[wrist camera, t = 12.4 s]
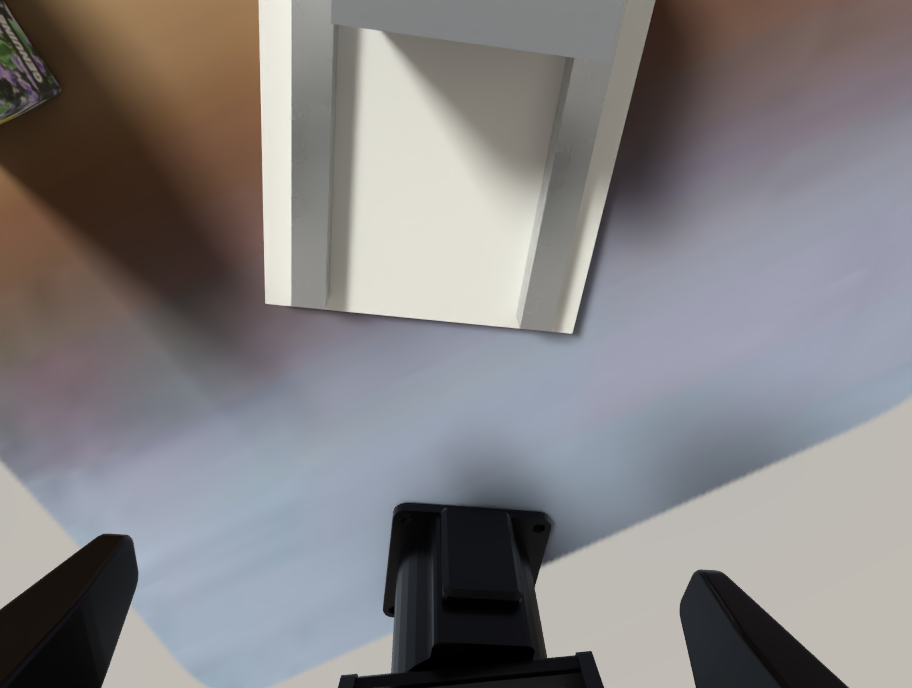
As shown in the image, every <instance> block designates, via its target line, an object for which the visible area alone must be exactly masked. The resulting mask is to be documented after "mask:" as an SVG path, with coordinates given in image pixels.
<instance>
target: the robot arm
mask: <svg viewBox="0 0 912 688" xmlns="http://www.w3.org/2000/svg"><path fill="white" fill-rule="evenodd" d="M402 515H409V516H408V517H403V516H402ZM536 524H541V525H538V526H535V525H536ZM550 530H551V524H550V520H549V517H548V516H547V515H546V514H544V513H540V512H528V511H513V510H499V509H484V508H470V507H455V506H441V505H426V504H412V503H402V504H400V505H397V506H396V507H395V508H394V511H393V519H392V529H391V538H390V547H389V556H388V566H387V575H386V584H385V594H384V603H383V612H384V613H385V615H387V616H389V617H394V632H393V651H392V669H391V673H390V674H380V675H370V676H360V677H358V675H357V674H352V675H342V676H341V678H340V682H339V686H338V688H604V686H603V683H602V681H601V678H600V675H599V672H598V669H597V666H596V663H595V660H594V657H593V654H592V652H591V651H587V652H577V653H576V655H575V656H565V657H555V658H547V654H546V649H545V643H544V638H543V632H542V627H541V621H540V616H539V610H538V605H537V599H536V594H535V584H536V580H537V577H538V573H539V570H540V566H541V562H542V559H543V555H544V552H545V548H546V544H547V541H548V537H549V534H550ZM137 582H138V567H137V561H136V555H135V549H134V543H133V540H132V538H131V537H130V536H128V535H121V534H102V535H100V536H98V537H96V538H95V539H94V540H92V541H91V542H90V543H88V544H87V545H86V546H84V547H83V548H82V549H80V550H79V551H78V552H76V553H75V554H74V555H72V556H71V557H70V558H68V559H67V560H66V561H64V562H63V563H62V564H60V565H59V566H58V567H56V568H55V569H54V570H52V571H51V572H50V573H48V574H47V575H46V576H44V577H43V578H42V579H40V580H39V581H38V582H36V583H35V584H34V585H32V586H31V587H30V588H28V589H27V590H26V591H24V592H23V593H22V594H20V595H19V596H18V597H16V598H15V599H14V600H12V601H11V602H10V603H8V604H7V605H6V606H4V607H3V608H2V609H1V610H0V688H101V687H102V684H103V681H104V678H105V676H106V673H107V670H108V668H109V665H110V662H111V659H112V656H113V653H114V650H115V647H116V645H117V641H118V639H119V636H120V633H121V630H122V627H123V624H124V621H125V619H126V615H127V613H128V610H129V607H130V604H131V601H132V598H133V595H134V593H135V590H136V586H137ZM680 618H681V623H682V627H683V631H684V635H685V640H686V645H687V649H688V654H689V658H690V662H691V667H692V671H693V676H694V681H695V685H696V688H849V687H847V686H846V685H845V684H844V683H843V682H842V681H841V680H840V679H839V678H838V677H837V676H836V675H834V674H833V673H832V672H831V671H830V670H829V669H828V668H827V667H826V666H825V665H823V664H822V663H821V662H820V661H819V660H818V659H817V658H816V657H815V656H814V655H812V654H811V653H810V652H809V651H808V650H807V649H806V648H805V647H804V646H803V645H802V644H801V643H799V642H798V641H797V640H796V639H795V638H794V637H793V636H792V635H791V634H790V633H789V632H788V631H786V630H785V629H784V628H783V627H782V626H781V625H780V624H779V623H778V622H777V621H776V620H774V619H773V618H772V617H771V616H770V615H769V614H768V613H767V612H766V611H765V610H764V609H762V608H761V607H760V606H759V605H758V604H757V603H756V602H755V601H754V600H753V599H752V598H750V597H749V596H748V595H747V594H746V593H745V592H744V591H743V590H742V589H741V588H740V587H738V586H737V585H736V584H735V583H734V582H733V581H732V580H731V579H730V578H728V576H726V575H725V574H724V573H722V572H720V571H715V570H697V571H696V572H694V574H693V576H692V578H691V580H690V582H689V584H688V586H687V589H686V591H685V593H684V595H683V597H682V600H681V603H680Z"/></svg>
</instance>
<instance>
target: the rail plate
mask: <svg viewBox="0 0 912 688" xmlns="http://www.w3.org/2000/svg"><path fill="white" fill-rule="evenodd" d="M331 2H332V0H259V33H260V79H261V125H262V171H263V217H264V264H265V304H273V305H284V306H293V307H304V308H314V309H324V310H335V311H345V312H355V313H365V314H375V315H386V316H396V317H406V318H416V319H426V320H437V321H447V322H457V323H467V324H477V325H488V326H498V327H508V328H518V329H528V330H538V331H549V332H559V333H569V334H572V333H573V329H574V325H575V321H576V317H577V313H578V309H579V305H580V301H581V297H582V293H583V289H584V285H585V281H586V277H587V273H588V269H589V265H590V261H591V257H592V253H593V249H594V245H595V241H596V237H597V233H598V229H599V225H600V221H601V217H602V213H603V209H604V205H605V201H606V197H607V193H608V189H609V185H610V181H611V177H612V173H613V169H614V165H615V161H616V157H617V153H618V149H619V145H620V141H621V137H622V133H623V129H624V125H625V121H626V117H627V112H628V108H629V104H630V100H631V96H632V92H633V88H634V84H635V80H636V76H637V72H638V68H639V64H640V60H641V56H642V52H643V48H644V44H645V40H646V36H647V32H648V28H649V24H650V20H651V16H652V12H653V8H654V4H655V0H624V4H623V9H622V13H621V17H620V22H619V26H618V31H617V35H616V40H615V44H614V48H613V53H612V57H611V62H610V63H608V62H601V61H593V60H586V59H579V58H572V57H565V56H558V55H550V54H543V53H536V52H529V51H522V50H515V49H507V48H500V47H493V46H486V45H479V44H472V43H464V42H457V41H450V40H443V39H436V38H429V37H421V36H414V35H407V34H400V33H393V32H386V31H378V30H371V29H364V28H357V27H350V26H343V25H335V24H331Z"/></svg>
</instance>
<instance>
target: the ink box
mask: <svg viewBox="0 0 912 688" xmlns="http://www.w3.org/2000/svg"><path fill="white" fill-rule="evenodd" d="M60 92H61V87H60V86H59V84H58V82H57V81H56V80H55V78H54V77H53V75H52V74H51V72H50V71H49V69H48V68H47V66H46V65H45V63H44V62H43V60H42V59H41V57H40V56H39V55H38V53H37V52H36V51H35V49H34V48H33V47H32V45H31V43H30V42H29V40H28V38H27V37H26V35H25V34H24V32H23V31H22V29H21V28H20V26H19V25H18V24H17V22H16V21H15V19H14V17H13V16H12V14H11V12H10V11H9V9H8V7H7V6H6V4H5V3H4V2H3V0H0V126H1V125H2V124H4V123H6V122H7V121H9V120H11V119H14V118H16V117H18V116H19V115H21V114H23V113H25V112H27V111H29V110H31V109H34V108H35V107H37V106H39V105H41V104H43V103H44V102H46V101H47V100H49V99H51V98H53V97H55V96H57V95H58V94H59V93H60Z"/></svg>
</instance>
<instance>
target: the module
mask: <svg viewBox="0 0 912 688" xmlns="http://www.w3.org/2000/svg"><path fill="white" fill-rule="evenodd" d="M623 4H624V0H332V2H331V24H335V25H343V26H350V27H357V28H364V29H371V30H378V31H386V32H393V33H400V34H407V35H414V36H421V37H429V38H436V39H443V40H450V41H457V42H464V43H472V44H479V45H486V46H493V47H500V48H507V49H515V50H522V51H529V52H536V53H543V54H550V55H558V56H565V57H572V58H579V59H586V60H593V61H601V62H608V63H610V62H611V57H612V53H613V48H614V44H615V40H616V35H617V31H618V26H619V22H620V17H621V13H622V9H623Z"/></svg>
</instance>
